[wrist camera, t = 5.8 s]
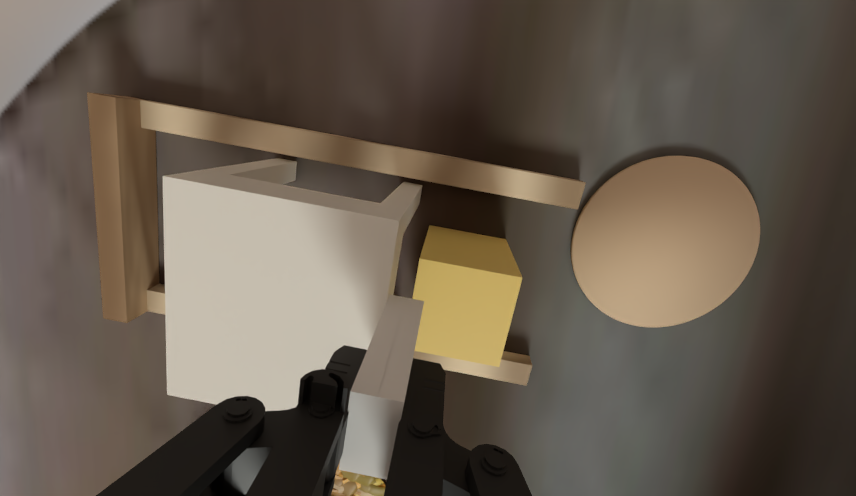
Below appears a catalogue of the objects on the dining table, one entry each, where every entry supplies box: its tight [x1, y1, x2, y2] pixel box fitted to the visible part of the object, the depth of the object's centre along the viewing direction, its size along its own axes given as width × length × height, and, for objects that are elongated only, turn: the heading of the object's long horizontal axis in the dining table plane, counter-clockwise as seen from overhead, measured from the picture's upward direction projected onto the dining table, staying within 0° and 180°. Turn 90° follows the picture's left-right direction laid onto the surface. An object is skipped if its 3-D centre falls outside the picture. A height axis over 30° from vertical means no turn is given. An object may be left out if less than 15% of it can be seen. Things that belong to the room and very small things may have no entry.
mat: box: [571, 156, 760, 327], centre depth 25 cm, size 11×11×1 cm
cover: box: [163, 158, 423, 411], centre depth 21 cm, size 9×10×10 cm
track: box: [87, 92, 586, 386], centre depth 25 cm, size 28×14×3 cm, turn 80°
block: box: [412, 225, 522, 367], centre depth 23 cm, size 5×5×7 cm
